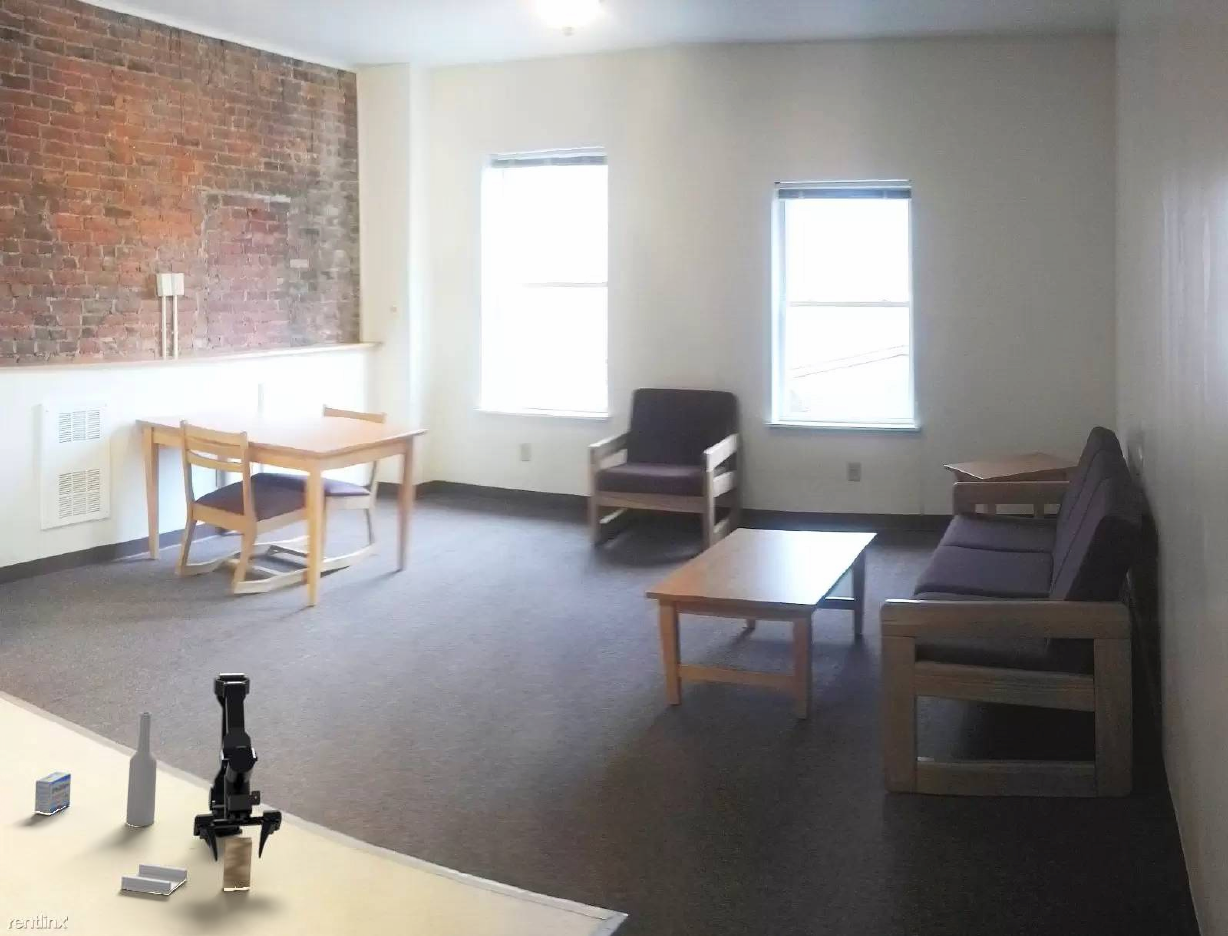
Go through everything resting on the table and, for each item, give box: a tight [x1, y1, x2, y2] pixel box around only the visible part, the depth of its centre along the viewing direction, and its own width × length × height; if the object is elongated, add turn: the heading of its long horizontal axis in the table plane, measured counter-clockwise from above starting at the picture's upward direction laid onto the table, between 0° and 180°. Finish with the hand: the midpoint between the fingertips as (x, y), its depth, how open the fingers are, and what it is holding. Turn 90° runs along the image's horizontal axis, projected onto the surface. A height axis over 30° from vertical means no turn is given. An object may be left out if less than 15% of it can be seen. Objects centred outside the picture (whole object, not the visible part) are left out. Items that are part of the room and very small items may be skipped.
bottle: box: [125, 711, 158, 827], centre depth 297 cm, size 7×7×28 cm
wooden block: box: [222, 836, 253, 888], centre depth 264 cm, size 6×3×11 cm, turn 112°
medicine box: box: [34, 771, 72, 813], centre depth 301 cm, size 8×4×9 cm, turn 168°
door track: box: [120, 862, 188, 894], centre depth 263 cm, size 11×8×3 cm
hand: (238, 859), depth 263 cm, fingers open, 9 cm apart
